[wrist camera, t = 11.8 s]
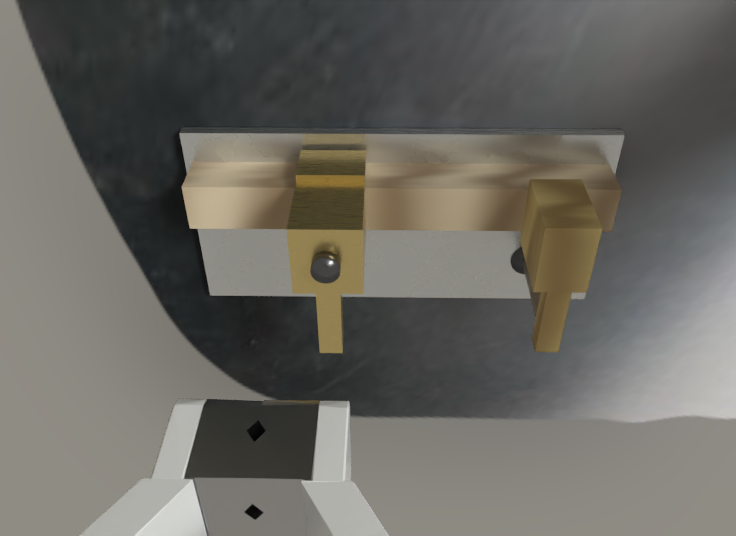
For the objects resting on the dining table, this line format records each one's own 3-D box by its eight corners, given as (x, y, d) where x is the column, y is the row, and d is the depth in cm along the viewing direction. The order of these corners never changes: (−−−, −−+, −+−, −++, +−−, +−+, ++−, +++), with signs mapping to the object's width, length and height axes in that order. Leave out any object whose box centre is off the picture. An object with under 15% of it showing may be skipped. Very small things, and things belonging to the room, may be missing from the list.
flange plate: (621, 129, 43) (625, 136, 42) (581, 292, 51) (584, 300, 50) (182, 127, 43) (178, 133, 42) (212, 288, 51) (210, 296, 50)
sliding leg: (366, 150, 42) (361, 232, 36) (366, 273, 48) (363, 364, 42) (300, 150, 43) (284, 231, 36) (309, 272, 48) (296, 363, 42)
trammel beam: (611, 154, 43) (650, 229, 36) (583, 271, 48) (613, 353, 42) (190, 152, 43) (157, 225, 37) (212, 268, 49) (186, 348, 43)
